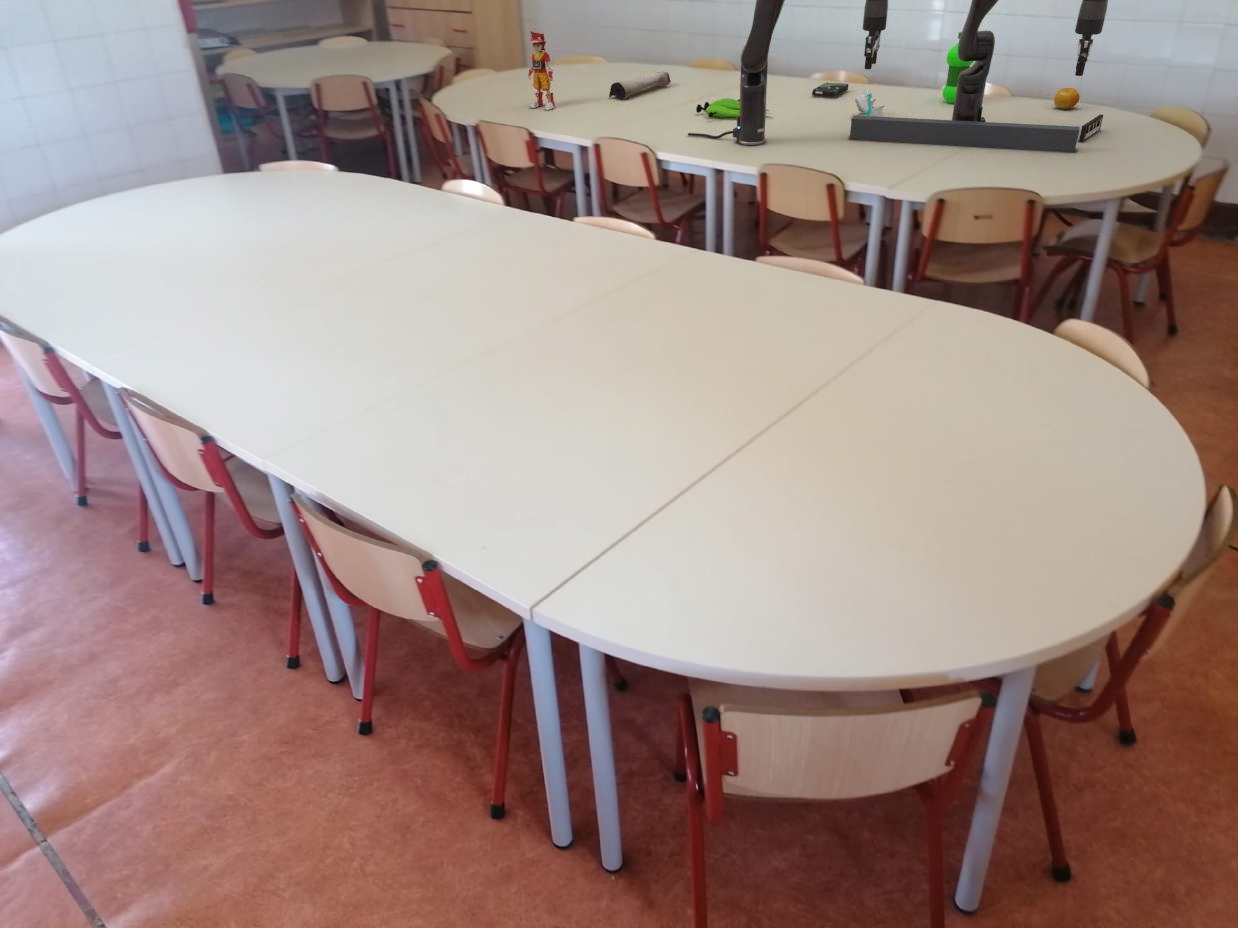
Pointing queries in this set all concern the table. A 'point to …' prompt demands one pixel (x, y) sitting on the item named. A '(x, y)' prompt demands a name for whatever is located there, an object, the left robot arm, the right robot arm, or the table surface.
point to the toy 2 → (722, 108)
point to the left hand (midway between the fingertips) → (870, 66)
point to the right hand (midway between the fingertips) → (1078, 73)
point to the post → (965, 133)
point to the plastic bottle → (954, 73)
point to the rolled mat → (638, 84)
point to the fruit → (1066, 98)
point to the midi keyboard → (1091, 127)
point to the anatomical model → (869, 105)
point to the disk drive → (830, 90)
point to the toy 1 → (541, 71)
